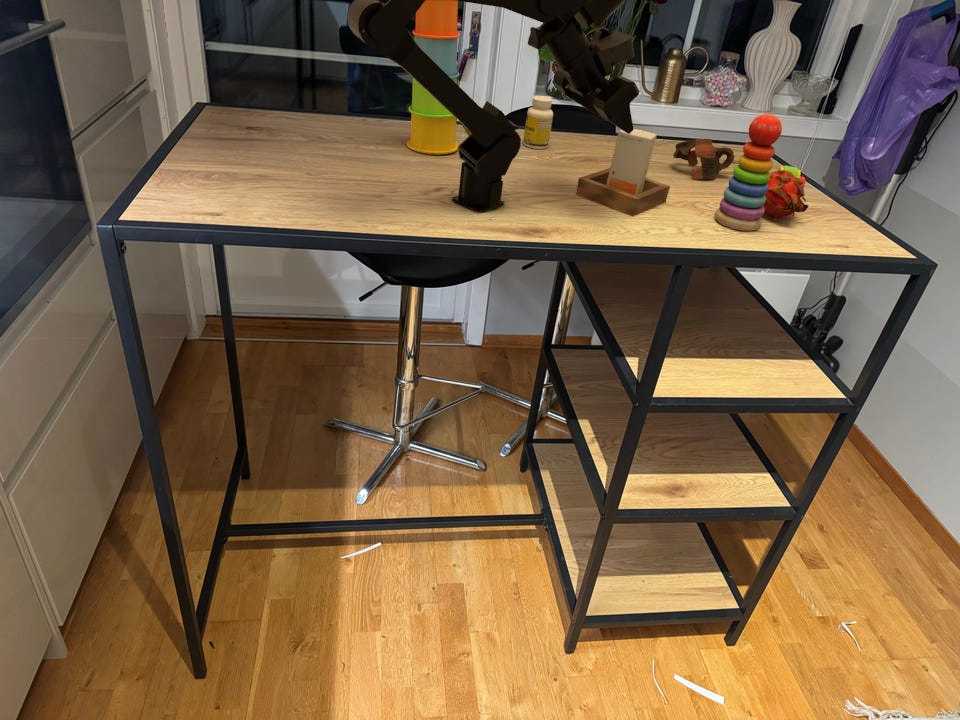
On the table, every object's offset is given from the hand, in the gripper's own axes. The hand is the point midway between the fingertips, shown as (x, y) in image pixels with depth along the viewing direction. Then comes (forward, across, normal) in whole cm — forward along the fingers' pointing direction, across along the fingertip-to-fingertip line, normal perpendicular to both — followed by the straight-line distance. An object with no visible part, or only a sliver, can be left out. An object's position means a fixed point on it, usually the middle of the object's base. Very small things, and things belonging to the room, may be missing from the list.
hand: (616, 123), depth 120 cm
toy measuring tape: (+38, -1, -19) cm, 43 cm away
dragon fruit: (+31, -10, -13) cm, 35 cm away
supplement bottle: (+10, +30, +9) cm, 33 cm away
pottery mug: (+31, +12, -12) cm, 35 cm away
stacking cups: (-6, +29, +25) cm, 39 cm away
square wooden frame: (+15, +2, +4) cm, 16 cm away
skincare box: (+13, 0, +6) cm, 14 cm away
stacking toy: (+24, -13, -5) cm, 28 cm away
